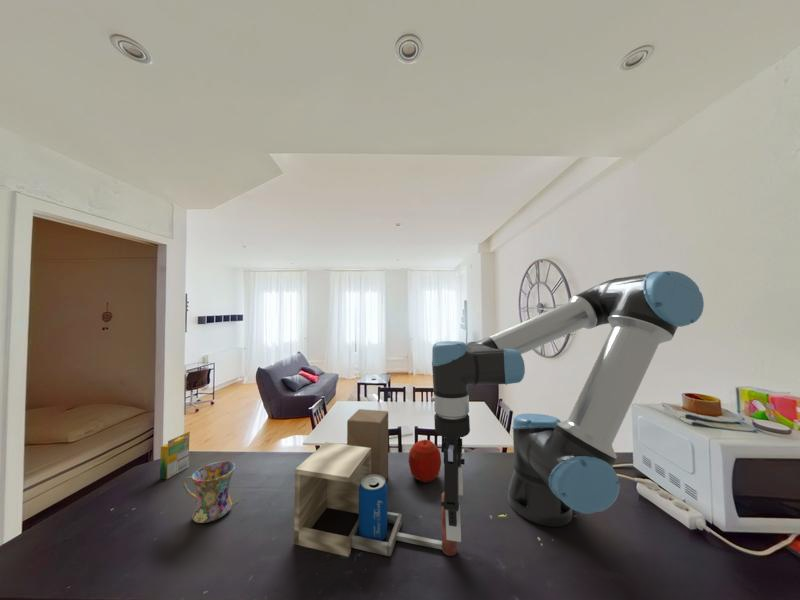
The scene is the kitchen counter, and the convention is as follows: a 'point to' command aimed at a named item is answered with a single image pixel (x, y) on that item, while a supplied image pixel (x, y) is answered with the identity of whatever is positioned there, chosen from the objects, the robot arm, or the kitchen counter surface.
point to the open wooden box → (328, 493)
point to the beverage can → (373, 507)
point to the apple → (425, 460)
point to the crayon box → (174, 456)
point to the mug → (211, 491)
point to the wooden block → (371, 437)
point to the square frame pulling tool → (401, 538)
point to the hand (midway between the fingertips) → (455, 514)
